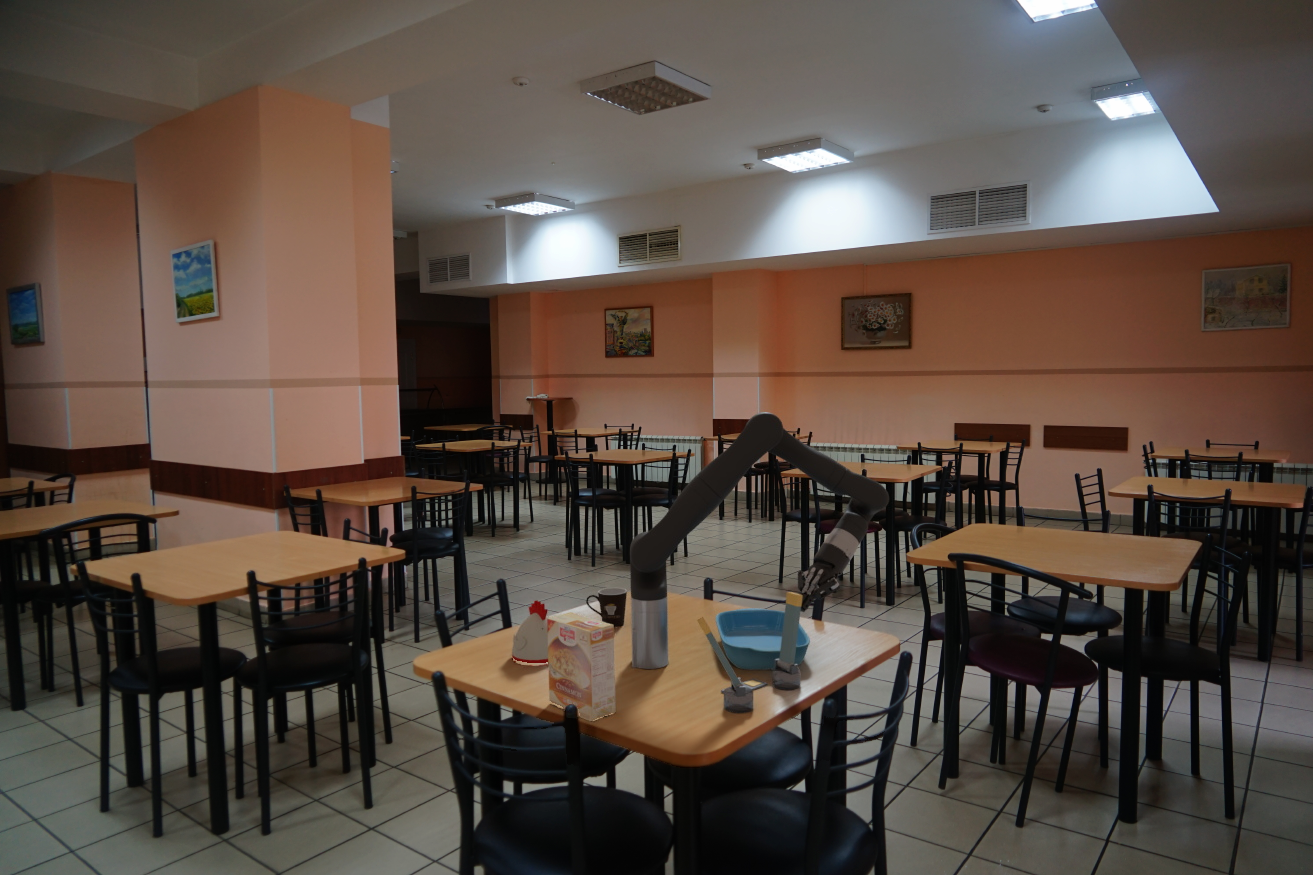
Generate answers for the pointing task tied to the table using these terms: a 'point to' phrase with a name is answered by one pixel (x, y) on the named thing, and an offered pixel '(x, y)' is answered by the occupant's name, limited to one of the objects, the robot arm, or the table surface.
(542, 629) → the kitchen timer
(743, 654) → the casserole dish
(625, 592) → the coffee mug
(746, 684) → the chart card
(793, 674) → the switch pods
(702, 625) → the near lever
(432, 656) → the table surface
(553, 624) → the coffeecake box
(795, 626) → the far lever
